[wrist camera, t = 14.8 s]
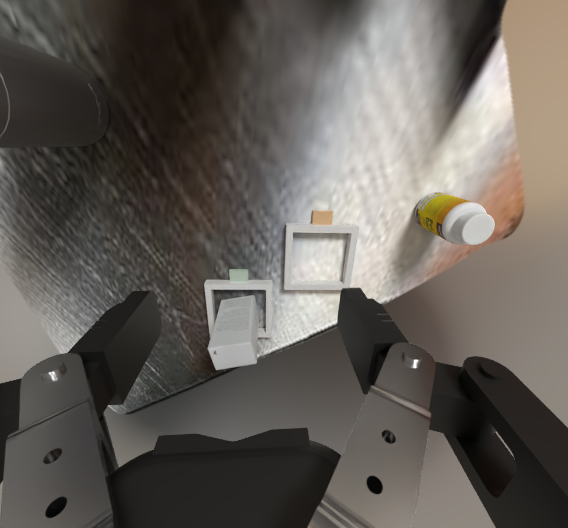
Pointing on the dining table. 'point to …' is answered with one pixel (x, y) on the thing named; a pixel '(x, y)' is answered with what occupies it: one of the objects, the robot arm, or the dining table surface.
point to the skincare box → (235, 333)
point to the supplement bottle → (454, 219)
